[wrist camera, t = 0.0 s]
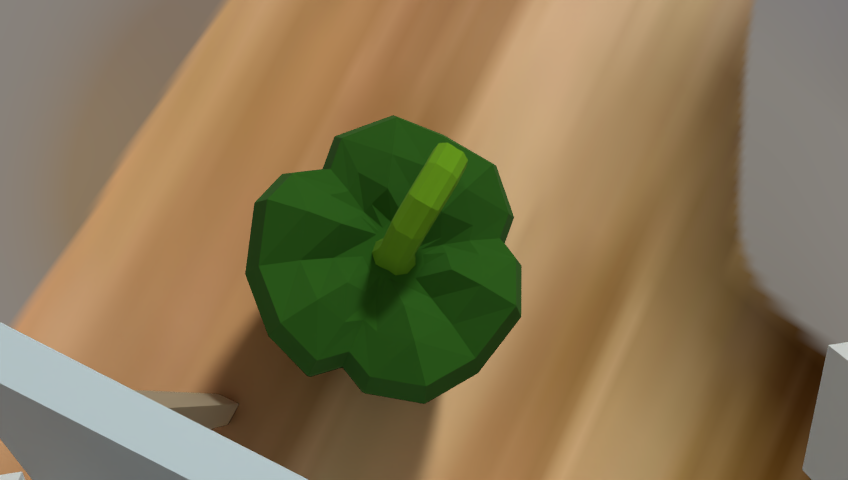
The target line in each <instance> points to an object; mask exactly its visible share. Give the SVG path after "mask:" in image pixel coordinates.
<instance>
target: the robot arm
mask: <svg viewBox="0 0 848 480" xmlns="http://www.w3.org/2000/svg"><path fill="white" fill-rule="evenodd" d="M802 470H803V471H804V472H805V473H806V474H807V475H808V476H809V477H810V478H811V479H812V480H848V342H846V343H840V344H833V345H828V349H827V354H826V359H825V364H824V368H823V373H822V378H821V383H820V388H819V392H818V397H817V402H816V407H815V411H814V416H813V421H812V426H811V431H810V435H809V440H808V445H807V450H806V454H805V459H804V464H803V469H802ZM0 480H25V479H24V476H23V473H22V472H17V473H10V474H4V475H0Z"/></svg>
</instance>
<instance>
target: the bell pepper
mask: <svg viewBox="0 0 848 480" xmlns="http://www.w3.org/2000/svg"><path fill="white" fill-rule="evenodd" d="M513 218H514V216H513V213H512V210H511V208H510V205H509V202H508V199H507V196H506V193H505V190H504V187H503V184H502V181H501V179H500V176H499V173H498V170H497V167H496V165H494V164H492V163H491V162H489V161H487V160H486V159H484V158H482V157H480V156H479V155H477V154H475V153H474V152H472V151H470V150H468V149H467V148H465V147H463V146H461V145H460V144H458V143H456V142H455V141H453V140H451V139H449V138H448V137H446V136H444V135H442V134H440V133H437V132H434V131H432V130H429V129H427V128H424V127H422V126H419V125H417V124H414V123H412V122H409V121H407V120H404V119H401V118H399V117H396V116H394V115H393V116H390V117H387V118H384V119H382V120H379V121H376V122H373V123H371V124H368V125H365V126H362V127H360V128H357V129H354V130H351V131H348V132H346V133H343V134H340V135H337V136H335V137H334V140H333V142H332V145H331V148H330V151H329V153H328V156H327V159H326V161H325V164H324V167H323V169H321V170H312V171H304V172H295V173H287V174H282V175H281V176H280V177H279V178H278V179H277V180H276V181H275V182H274V183H273V184H272V185H271V186H270V187H269V188H268V189H267V190H266V192H265V193H264V194H263V195H262V196H261V197H260V198H259V199H258V200H257V201H256V202H255V204H254V211H253V219H252V227H251V234H250V242H249V250H248V257H247V265H246V273H245V274H246V277H247V280H248V282H249V285H250V288H251V290H252V293H253V296H254V298H255V301H256V304H257V307H258V309H259V312H260V315H261V317H262V320H263V323H264V325H265V328H266V331H267V333H268V336H269V337H270V338H271V339H272V340H273V341H274V342H275V343H276V344H277V345H278V346H279V347H280V348H281V349H282V350H283V351H284V352H285V353H286V354H287V355H288V357H289V358H290V359H291V360H292V361H293V362H294V363H295V364H296V365H297V366H298V367H299V368H300V369H301V370H302V371H303V372H304V373H305V374H306V375H307V376H309V377H311V376H315V375H318V374H321V373H325V372H328V371H331V370H335V369H338V368H342V367H343V369H344V370H345V371H346V372H347V374H348V375H349V376H350V377H351V379H352V380H353V381H354V382H355V384H356V385H357V386H358V387H359V389H360V390H361V391H362V392H363V393H367V394H372V395H378V396H384V397H389V398H395V399H400V400H406V401H412V402H417V403H423V404H425V403H427V402H429V401H430V400H432V399H434V398H436V397H437V396H439V395H441V394H442V393H444V392H446V391H448V390H449V389H451V388H453V387H455V386H456V385H458V384H460V383H462V382H463V381H465V380H467V379H468V378H470V377H472V376H474V375H475V374H477V373H478V372H479V371H480V370H481V368H482V367H483V366H484V365H485V363H486V362H487V361H488V359H489V358H490V357H491V355H492V354H493V353H494V352H495V350H496V349H497V348H498V346H499V345H500V344H501V342H502V341H503V340H504V339H505V337H506V336H507V335H508V333H509V332H510V331H511V329H512V328H513V327H514V326H515V324H516V323H517V322H518V320H519V319H520V318H521V265H520V263H519V262H518V261H517V259H516V258H515V257H514V255H513V254H512V253H511V251H510V250H509V249H508V247H507V246H506V245H505V244H504V243H505V241H506V238H507V235H508V232H509V229H510V227H511V224H512V221H513Z"/></svg>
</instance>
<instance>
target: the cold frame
mask: <svg viewBox="0 0 848 480" xmlns="http://www.w3.org/2000/svg"><path fill="white" fill-rule="evenodd" d="M238 405H239V404H238V403H236V402H234V401H232V400H230V399H228V398H226V397H224V396H222V395H220V394H210V393H187V392H165V391H142V390H132V389H130V388H128V387H126V386H124V385H122V384H120V383H118V382H116V381H114V380H112V379H110V378H108V377H106V376H104V375H102V374H100V373H99V372H97V371H95V370H93V369H91V368H89V367H87V366H85V365H83V364H81V363H79V362H77V361H75V360H73V359H71V358H69V357H67V356H65V355H63V354H61V353H59V352H57V351H55V350H54V349H52V348H50V347H48V346H46V345H44V344H42V343H40V342H38V341H36V340H34V339H32V338H30V337H28V336H26V335H24V334H22V333H20V332H18V331H16V330H14V329H12V328H10V327H8V326H7V325H5V324H3V323H1V322H0V439H1V440H2V441H3V443H4V444H5V445H6V447H7V448H8V449H9V450H10V452H11V453H12V454H13V456H14V457H15V458H16V459H17V461H18V462H19V463H20V465H21V466H22V467H23V468H24V470H25V471H26V472H27V474H28V475H29V476H30V477H31V479H32V480H308V479H306V478H304V477H302V476H300V475H298V474H296V473H294V472H292V471H290V470H288V469H286V468H284V467H283V466H281V465H279V464H277V463H275V462H273V461H271V460H269V459H267V458H265V457H263V456H261V455H259V454H257V453H255V452H253V451H251V450H249V449H247V448H245V447H243V446H241V445H239V444H238V443H236V442H234V441H232V440H230V439H228V438H226V437H224V436H222V435H220V434H218V433H216V432H214V431H212V430H210V429H212V428H216V427H220V426H224V425H228V423H229V421H230V419H231V418H232V416H233V414H234V412H235V410H236V409H237V407H238Z"/></svg>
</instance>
